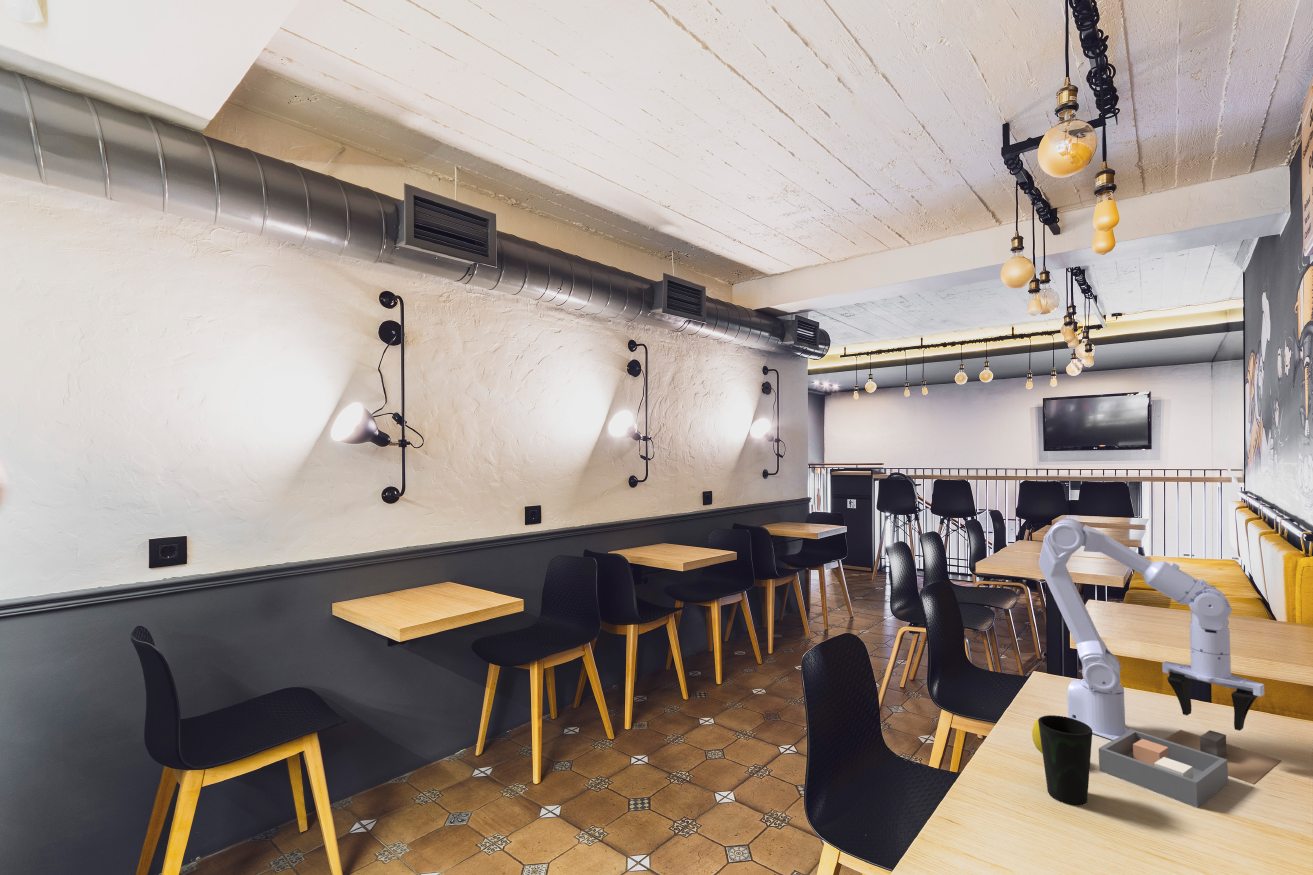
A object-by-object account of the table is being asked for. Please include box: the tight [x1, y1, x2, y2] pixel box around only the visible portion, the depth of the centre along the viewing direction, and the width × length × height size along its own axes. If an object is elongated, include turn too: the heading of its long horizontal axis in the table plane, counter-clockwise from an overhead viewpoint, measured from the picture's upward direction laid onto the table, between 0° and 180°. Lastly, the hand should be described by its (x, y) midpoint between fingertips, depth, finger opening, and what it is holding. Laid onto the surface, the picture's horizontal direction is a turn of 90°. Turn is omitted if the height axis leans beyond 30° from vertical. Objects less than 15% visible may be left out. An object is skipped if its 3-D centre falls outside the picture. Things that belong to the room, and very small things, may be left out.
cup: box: [1037, 714, 1093, 807], centre depth 103 cm, size 8×8×12 cm
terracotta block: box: [1133, 739, 1169, 766], centre depth 112 cm, size 4×4×3 cm
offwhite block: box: [1154, 757, 1193, 779], centre depth 105 cm, size 4×4×3 cm
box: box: [1098, 729, 1229, 808], centre depth 108 cm, size 14×14×4 cm
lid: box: [1163, 729, 1282, 785], centre depth 116 cm, size 15×15×4 cm
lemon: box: [1031, 719, 1043, 755], centre depth 115 cm, size 6×6×8 cm
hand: (1212, 721), depth 116 cm, fingers open, 7 cm apart
